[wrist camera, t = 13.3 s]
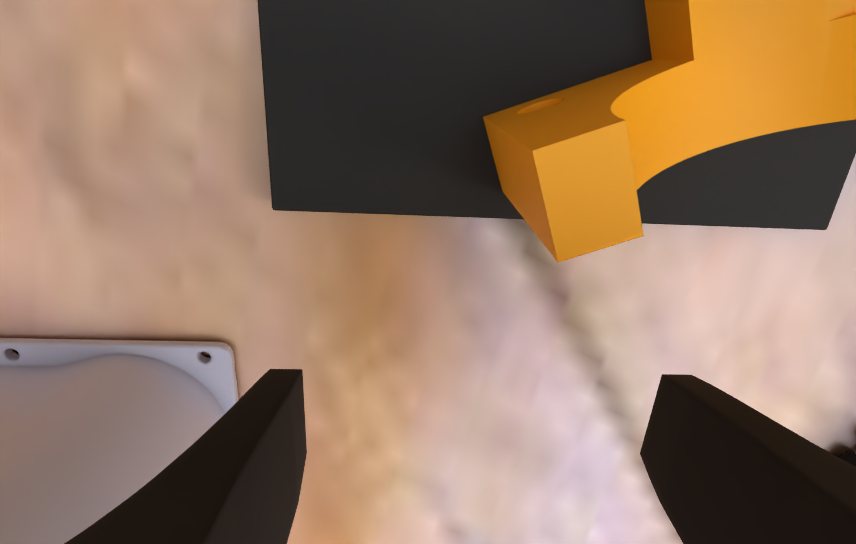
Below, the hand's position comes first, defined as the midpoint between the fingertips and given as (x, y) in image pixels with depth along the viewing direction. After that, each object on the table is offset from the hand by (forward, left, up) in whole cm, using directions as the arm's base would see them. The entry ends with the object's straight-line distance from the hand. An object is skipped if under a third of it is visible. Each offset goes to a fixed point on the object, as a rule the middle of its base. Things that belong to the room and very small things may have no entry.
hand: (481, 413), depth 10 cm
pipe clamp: (+7, +7, -9) cm, 13 cm away
